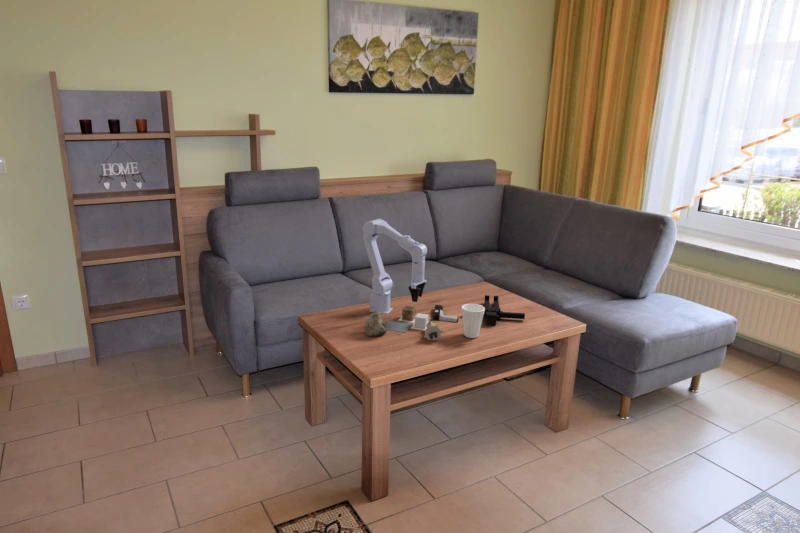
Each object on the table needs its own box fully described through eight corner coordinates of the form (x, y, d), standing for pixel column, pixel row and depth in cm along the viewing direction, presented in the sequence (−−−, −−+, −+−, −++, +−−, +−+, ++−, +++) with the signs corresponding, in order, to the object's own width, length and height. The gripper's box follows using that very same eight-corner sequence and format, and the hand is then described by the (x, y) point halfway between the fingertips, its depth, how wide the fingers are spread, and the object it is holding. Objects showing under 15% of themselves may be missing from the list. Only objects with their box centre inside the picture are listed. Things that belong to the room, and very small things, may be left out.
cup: (458, 339, 239) (460, 310, 235) (461, 330, 248) (462, 302, 245) (481, 341, 237) (483, 312, 233) (483, 332, 246) (485, 304, 243)
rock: (364, 343, 240) (374, 331, 233) (355, 320, 245) (365, 307, 238) (382, 341, 245) (392, 329, 238) (373, 318, 250) (383, 306, 243)
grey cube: (414, 327, 249) (414, 317, 248) (417, 323, 254) (417, 313, 253) (425, 329, 248) (425, 318, 247) (428, 325, 253) (428, 314, 251)
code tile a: (397, 321, 257) (397, 320, 257) (403, 315, 265) (403, 314, 265) (414, 323, 255) (414, 322, 255) (419, 317, 262) (419, 316, 262)
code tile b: (410, 328, 249) (410, 328, 248) (415, 322, 256) (415, 321, 256) (427, 331, 246) (427, 330, 246) (432, 325, 254) (432, 324, 254)
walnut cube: (402, 319, 258) (402, 309, 257) (405, 315, 263) (405, 305, 261) (412, 321, 257) (412, 310, 255) (415, 317, 261) (415, 307, 260)
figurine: (445, 340, 234) (443, 328, 248) (440, 324, 232) (438, 312, 247) (426, 346, 235) (425, 334, 249) (420, 330, 233) (419, 319, 248)
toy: (520, 297, 281) (527, 314, 251) (520, 307, 282) (526, 326, 253) (464, 294, 284) (464, 311, 254) (464, 304, 285) (464, 322, 256)
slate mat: (381, 329, 247) (381, 329, 247) (389, 321, 257) (389, 320, 257) (405, 333, 244) (405, 332, 244) (412, 324, 254) (412, 323, 254)
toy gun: (458, 306, 271) (434, 303, 272) (458, 318, 256) (432, 315, 257) (458, 312, 272) (433, 309, 273) (458, 325, 257) (431, 322, 258)
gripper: (422, 276, 246) (421, 305, 250) (430, 267, 259) (429, 295, 263) (407, 274, 248) (406, 303, 252) (415, 265, 261) (414, 293, 265)
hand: (417, 298), depth 258 cm, fingers open, 7 cm apart
